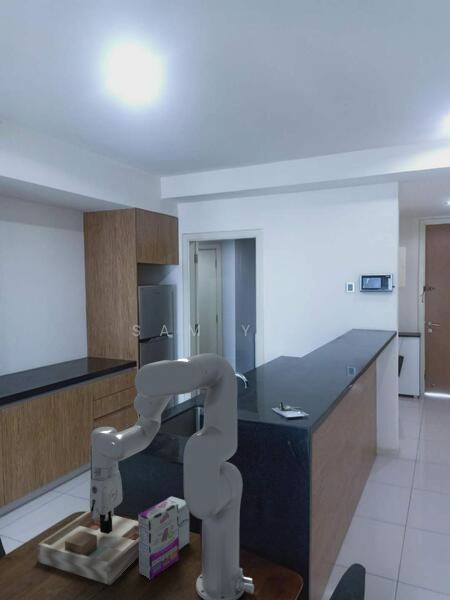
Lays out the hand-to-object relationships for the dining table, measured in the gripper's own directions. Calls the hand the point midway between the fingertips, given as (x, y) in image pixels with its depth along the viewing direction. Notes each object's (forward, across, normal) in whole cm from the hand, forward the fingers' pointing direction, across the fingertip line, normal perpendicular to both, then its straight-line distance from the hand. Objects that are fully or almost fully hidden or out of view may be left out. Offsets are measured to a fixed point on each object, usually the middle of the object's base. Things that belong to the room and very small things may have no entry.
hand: (106, 531), depth 132 cm
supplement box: (+5, +9, -17) cm, 20 cm away
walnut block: (+2, -9, +2) cm, 9 cm away
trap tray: (+5, -1, +1) cm, 5 cm away
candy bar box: (+5, -2, -19) cm, 20 cm away
